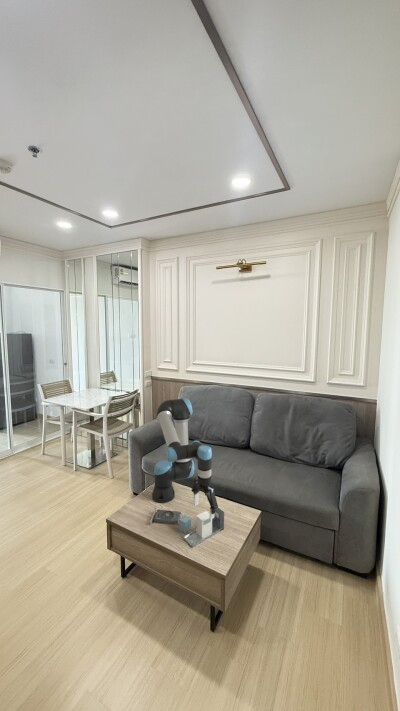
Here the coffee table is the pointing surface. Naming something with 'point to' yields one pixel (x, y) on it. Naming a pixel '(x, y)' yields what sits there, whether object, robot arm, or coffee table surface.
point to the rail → (217, 526)
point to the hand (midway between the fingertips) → (204, 511)
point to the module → (203, 524)
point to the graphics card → (165, 516)
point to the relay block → (184, 523)
